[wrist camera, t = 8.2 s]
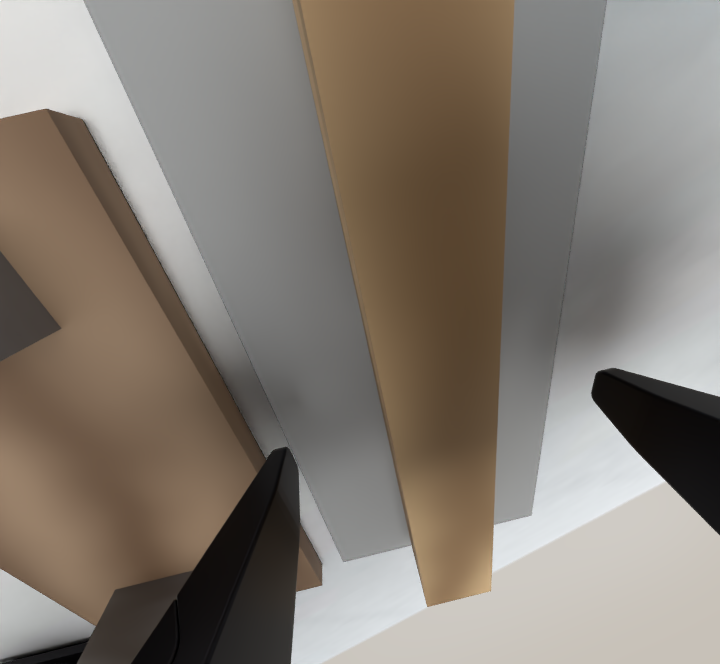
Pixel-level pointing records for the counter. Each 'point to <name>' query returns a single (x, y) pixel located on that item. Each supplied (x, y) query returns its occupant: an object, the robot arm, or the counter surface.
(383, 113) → the oak rail
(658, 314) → the counter surface
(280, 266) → the grey mat
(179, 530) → the rail stand
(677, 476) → the robot arm
